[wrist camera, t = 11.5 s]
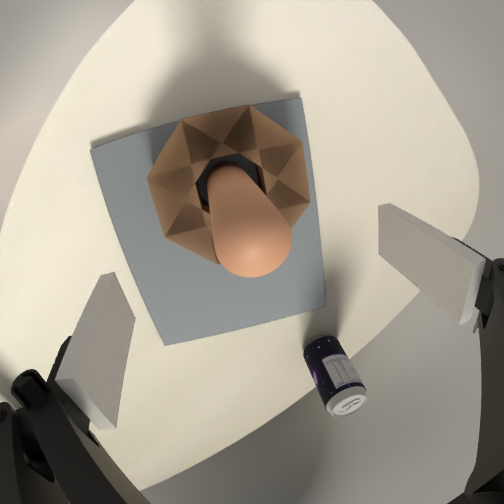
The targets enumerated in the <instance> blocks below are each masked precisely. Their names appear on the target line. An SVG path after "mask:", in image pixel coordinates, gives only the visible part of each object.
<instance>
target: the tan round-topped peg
mask: <svg viewBox="0 0 504 504" xmlns="http://www.w3.org/2000/svg"><path fill="white" fill-rule="evenodd" d="M206 181H207V191H208V199H209V207H210V216H211V224H212V232H213V239H214V247H215V252H216V255H217V258H218V260H219V261H220V263H221V264H222V265H223V266H224V267H225V268H226V269H227V270H228V271H230V272H231V273H233V274H235V275H238V276H242V277H259V276H263V275H266V274H268V273H270V272H272V271H274V270H275V269H276V268H278V267H279V266H280V265H281V264H282V263H283V262H284V260H285V259H286V257H287V255H288V253H289V251H290V248H291V244H292V234H291V229H290V226H289V224H288V222H287V221H286V219H285V218H284V217H283V216H282V214H281V213H280V212H279V211H278V210H277V208H276V207H275V206H274V205H273V204H272V202H271V201H270V200H269V199H268V198H267V196H266V195H265V194H264V193H263V192H262V191H261V189H260V188H259V187H258V186H257V185H256V184H255V182H254V181H253V180H252V179H251V178H250V177H249V175H248V174H247V173H246V172H245V171H244V170H243V168H242V167H241V166H240V165H238V164H237V163H235V162H232V161H221V162H219V163H217V164H215V165H214V166H213V167H212V168H211V169H210V170H209V172H208V174H207V180H206Z"/></svg>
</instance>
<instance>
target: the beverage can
mask: <svg viewBox="0 0 504 504" xmlns="http://www.w3.org/2000/svg"><path fill="white" fill-rule="evenodd" d="M303 356H304V359H305V361H306V364H307V366H308V368H309V371H310V373H311V375H312V378H313V380H314V382H315V385H316V387H317V389H318V391H319V394H320V396H321V399H322V401H323V403H324V406H325V408H326V410H327V411H329V412H331V414H332V416H334V417H338V418H341V417H346V416H349V415H351V414H353V413H355V412H357V411H358V410H359V409H361V408H362V407H363V406H364V404H365V403H366V401H367V397H366V388H365V387H364V385H363V383H362V381H361V380H360V378H359V376H358V374H357V372H356V371H355V369H354V367H353V365H352V364H351V362H350V360H349V359H348V357H347V355H346V353H345V352H344V350H343V348H342V346H341V345H340V343H339V341H338V340H337V339H336V338H335V337H333V336H319V337H317V338H315V339H313V340H312V341H311V342H310V343H309V344H308V346H307V347H306V348H305V350H304V354H303Z"/></svg>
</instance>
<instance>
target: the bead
mask: <svg viewBox="0 0 504 504" xmlns="http://www.w3.org/2000/svg"><path fill="white" fill-rule="evenodd" d="M235 153H240V154H242V155H243V156H245V157H246V158H248V159H249V160H251V161H252V162H254V163H255V168H256V173H257V178H258V184H259V185H258V187H259V188H260V189H261V191H262V192H263V193H264V194H265V195H266V196H267V198H268V199H269V200H270V201H271V202H272V204H273V205H274V206H275V207H276V208H277V210H278V211H279V212H280V213H281V214H282V216H283V217H284V218H285V219H286V221H287V222H288V224H289V226H290V229H292V227H293V226H294V225H295V223H296V222H297V220H298V219H299V218H300V216H301V215H302V214H303V212H304V211H305V209H306V208H307V207H308V205H309V204H310V202H311V201H310V193H309V185H308V178H307V171H306V164H305V157H304V150H303V143H302V141H300V140H299V139H298V138H296V137H295V136H293V135H292V134H291V133H289V132H288V131H287V130H285V129H284V128H282V127H281V126H279V125H278V124H277V123H275V122H274V121H272V120H271V119H269V118H268V117H267V116H265V115H264V114H262V113H261V112H259V111H258V110H256V109H255V108H253V107H252V106H250V105H245V106H239V107H234V108H229V109H224V110H219V111H215V112H210V113H206V114H202V115H197V116H193V117H189V118H185V119H181V121H180V122H179V124H178V125H177V127H176V128H175V130H174V132H173V133H172V135H171V136H170V138H169V140H168V141H167V143H166V145H165V146H164V148H163V150H162V151H161V153H160V155H159V156H158V158H157V160H156V162H155V163H154V165H153V167H152V169H151V170H150V172H149V174H148V176H147V181H148V184H149V188H150V191H151V195H152V198H153V201H154V205H155V208H156V211H157V215H158V218H159V221H160V224H161V227H162V230H163V234H164V237H165V238H167V239H169V240H171V241H173V242H175V243H177V244H179V245H180V246H182V247H184V248H186V249H188V250H190V251H192V252H194V253H196V254H198V255H200V256H202V257H203V258H205V259H207V260H209V261H211V262H213V263H215V264H217V265H219V264H221V263H220V261H219V260H218V258H217V255H216V252H215V247H214V239H213V232H212V224H211V216H210V207H209V202H207V201H206V200H204V199H202V198H201V194H200V190H199V186H198V182H197V180H198V178H199V176H200V175H201V173H202V172H203V170H204V168H205V167H206V165H207V164H208V162H209V161H210V159H213V158H218V157H222V156H226V155H231V154H235Z"/></svg>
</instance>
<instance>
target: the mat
mask: <svg viewBox="0 0 504 504" xmlns="http://www.w3.org/2000/svg"><path fill="white" fill-rule="evenodd" d="M250 106H252V107H253V108H255V109H256V110H258V111H259V112H261V113H262V114H264V115H265V116H267V117H268V118H269V119H271V120H272V121H274V122H275V123H277V124H278V125H279V126H281V127H282V128H284V129H285V130H287V131H288V132H289V133H291V134H292V135H293V136H295V137H296V138H298V139H299V140H300V141H302V143H303V150H304V157H305V164H306V171H307V178H308V185H309V193H310V201H311V202H310V204H309V205H308V207H307V208H306V209H305V211H304V212H303V214H302V215H301V216H300V218H299V219H298V220H297V222H296V223H295V225H294V226H293V227H292V229H291V234H292V244H291V248H290V251H289V253H288V255H287V257H286V259H285V260H284V262H283V263H282V264H281V265H280V266H279V267H278V268H276V269H275V270H274V271H272V272H270V273H268V274H266V275H263V276H259V277H242V276H238V275H235V274H233V273H231V272H230V271H228V270H227V269H226V268H225V267H224V266H223V265H222V264H219V265H217V264H215V263H213V262H211V261H209V260H207V259H205V258H203V257H202V256H200V255H198V254H196V253H194V252H192V251H190V250H188V249H186V248H184V247H182V246H180V245H179V244H177V243H175V242H173V241H171V240H169V239H167V238H165V237H164V234H163V230H162V227H161V224H160V221H159V218H158V215H157V211H156V208H155V205H154V201H153V198H152V195H151V191H150V188H149V184H148V181H147V176H148V174H149V172H150V170H151V169H152V167H153V165H154V163H155V162H156V160H157V158H158V156H159V155H160V153H161V151H162V150H163V148H164V146H165V145H166V143H167V141H168V140H169V138H170V136H171V135H172V133H173V132H174V130H175V128H176V127H177V125H178V124H179V122H180V121H177V122H173V123H170V124H166V125H162V126H159V127H155V128H152V129H149V130H145V131H142V132H139V133H136V134H133V135H130V136H127V137H124V138H121V139H118V140H115V141H112V142H109V143H107V144H104V145H101V146H98V147H96V148H93V149H91V150H90V153H91V156H92V160H93V163H94V167H95V170H96V174H97V177H98V181H99V184H100V187H101V190H102V193H103V197H104V200H105V203H106V206H107V209H108V212H109V215H110V218H111V220H112V223H113V226H114V229H115V232H116V234H117V237H118V240H119V243H120V245H121V248H122V250H123V253H124V256H125V258H126V261H127V263H128V266H129V268H130V270H131V273H132V275H133V278H134V280H135V282H136V285H137V287H138V289H139V292H140V294H141V296H142V299H143V301H144V303H145V305H146V307H147V310H148V312H149V314H150V316H151V318H152V320H153V322H154V325H155V327H156V329H157V331H158V333H159V335H160V337H161V339H162V341H163V343H164V345H165V346H166V345H171V344H176V343H181V342H186V341H191V340H196V339H200V338H205V337H209V336H214V335H218V334H222V333H227V332H231V331H235V330H239V329H243V328H247V327H251V326H255V325H259V324H263V323H267V322H271V321H275V320H278V319H282V318H286V317H289V316H293V315H296V314H300V313H304V312H307V311H311V310H314V309H317V308H321V307H324V306H325V291H324V276H323V263H322V251H321V239H320V229H319V219H318V210H317V201H316V192H315V184H314V176H313V169H312V161H311V154H310V147H309V141H308V134H307V128H306V122H305V115H304V110H303V104H302V98H297V99H289V100H282V101H274V102H268V103H261V104H255V105H250ZM221 161H232V162H235V163H237V164H238V165H240V166H241V167H242V168H243V170H244V171H245V172H246V173H247V174H248V175H249V177H250V178H251V179H252V180H253V181H254V182H255V184H256V185H257V186H258V185H259V184H258V178H257V173H256V168H255V163H254V162H252V161H251V160H249V159H248V158H246V157H245V156H243V155H242V154H240V153H235V154H231V155H226V156H222V157H218V158H213V159H210V161H209V162H208V164H207V165H206V167H205V168H204V170H203V172H202V173H201V175H200V176H199V178H198V180H197V182H198V186H199V190H200V194H201V198H202V199H204V200H206V201H207V202H209V199H208V191H207V181H206V180H207V174H208V172H209V170H210V169H211V168H212V167H213V166H214V165H215V164H217V163H219V162H221Z"/></svg>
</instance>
